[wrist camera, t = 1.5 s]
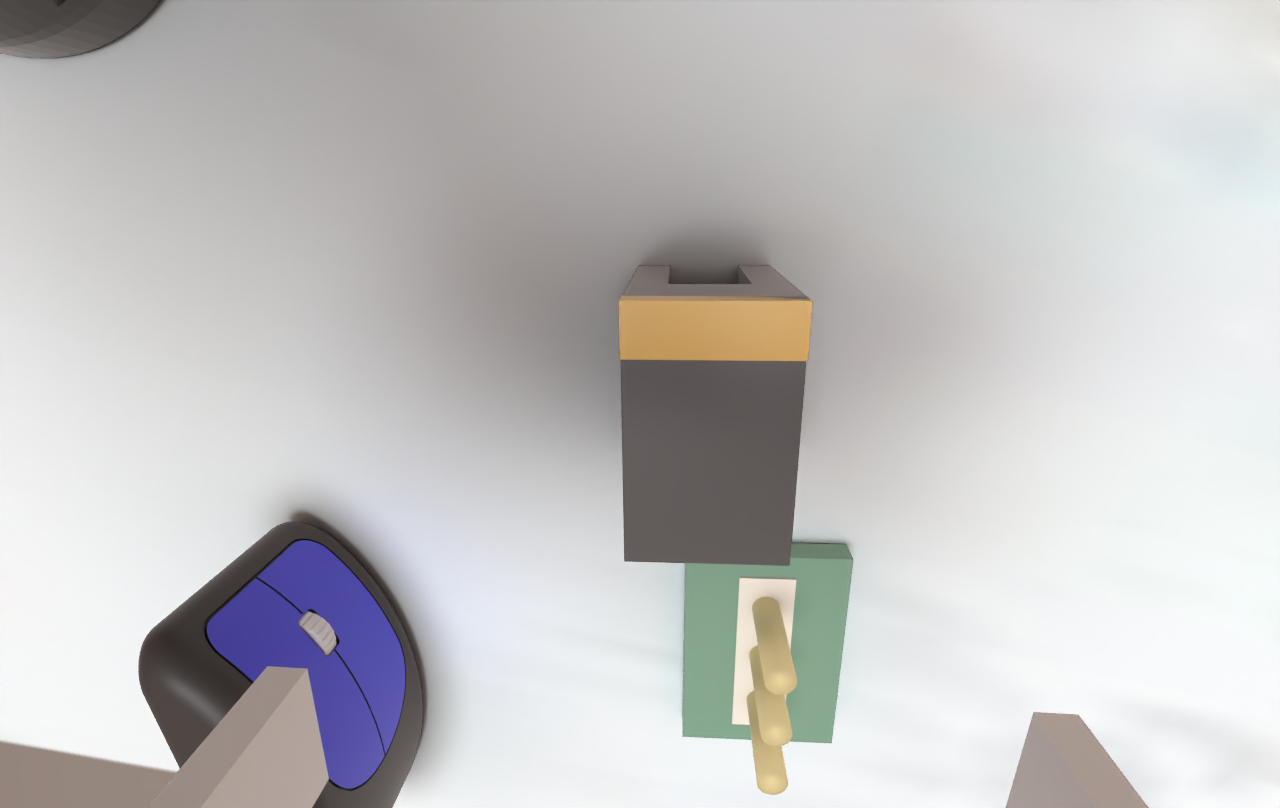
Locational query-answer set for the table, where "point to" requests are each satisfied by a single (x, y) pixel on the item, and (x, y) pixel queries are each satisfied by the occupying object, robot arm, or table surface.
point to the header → (766, 652)
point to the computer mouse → (294, 660)
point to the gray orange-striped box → (711, 416)
